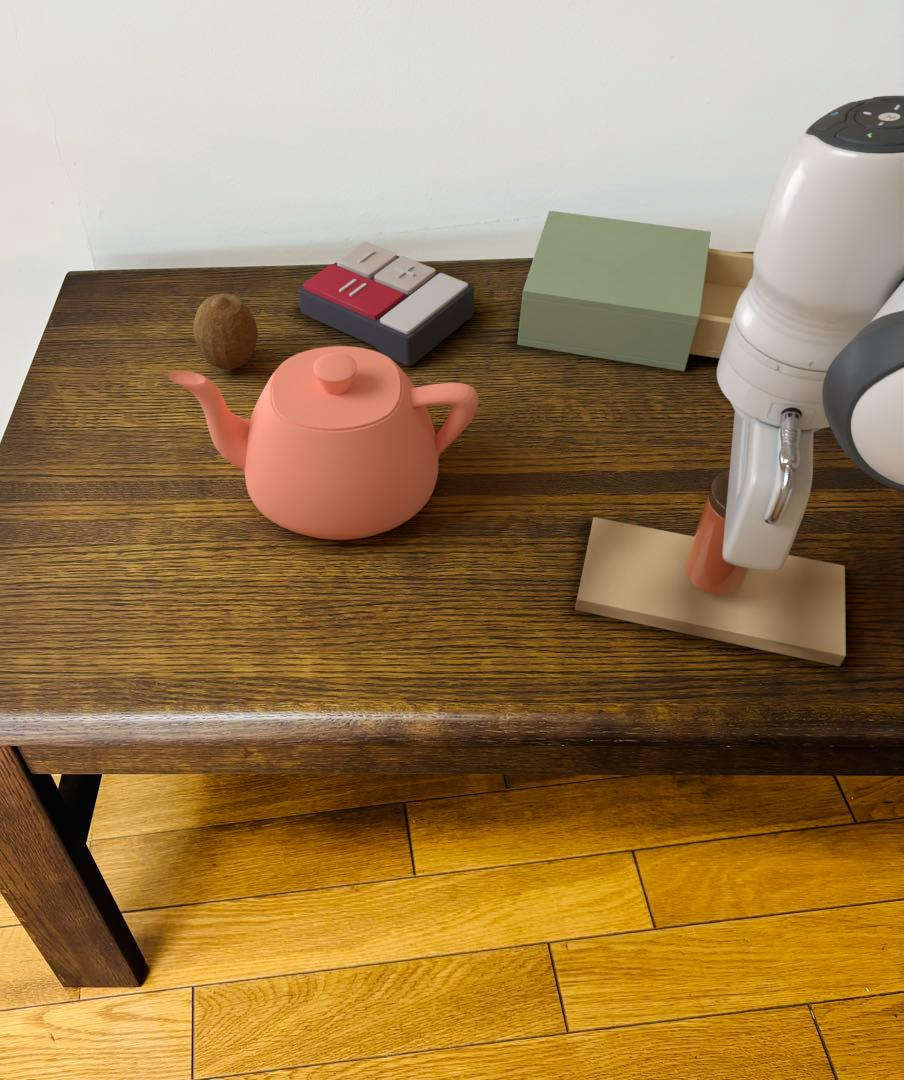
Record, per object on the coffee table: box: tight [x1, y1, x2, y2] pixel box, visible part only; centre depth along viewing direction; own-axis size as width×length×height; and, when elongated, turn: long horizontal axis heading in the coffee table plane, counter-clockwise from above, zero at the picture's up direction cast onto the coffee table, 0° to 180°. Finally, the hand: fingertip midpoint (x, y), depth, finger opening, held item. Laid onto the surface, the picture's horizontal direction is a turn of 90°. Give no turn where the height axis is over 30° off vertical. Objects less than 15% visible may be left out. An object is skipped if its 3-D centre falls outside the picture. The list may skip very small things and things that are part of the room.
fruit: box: [192, 293, 259, 370], centre depth 98 cm, size 6×6×8 cm
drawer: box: [689, 248, 754, 359], centre depth 98 cm, size 20×13×5 cm
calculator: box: [297, 241, 475, 367], centre depth 104 cm, size 11×4×15 cm
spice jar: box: [684, 469, 749, 594], centre depth 74 cm, size 5×5×9 cm
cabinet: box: [516, 210, 712, 372], centre depth 101 cm, size 17×15×7 cm
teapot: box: [167, 345, 480, 541], centre depth 84 cm, size 25×17×13 cm
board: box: [574, 516, 847, 667], centre depth 80 cm, size 20×9×2 cm, turn 73°
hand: (738, 511), depth 73 cm, fingers closed on spice jar, 4 cm apart
